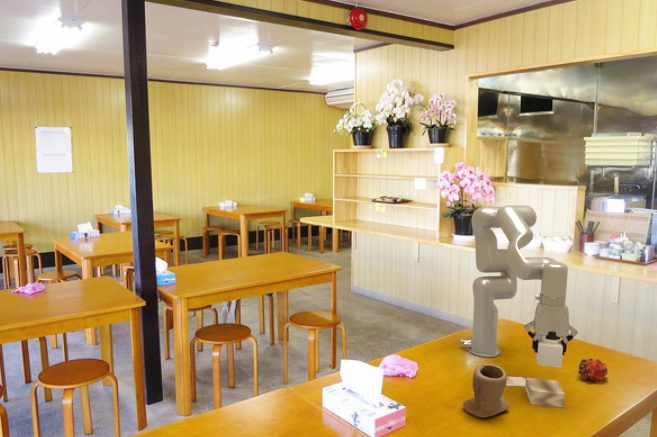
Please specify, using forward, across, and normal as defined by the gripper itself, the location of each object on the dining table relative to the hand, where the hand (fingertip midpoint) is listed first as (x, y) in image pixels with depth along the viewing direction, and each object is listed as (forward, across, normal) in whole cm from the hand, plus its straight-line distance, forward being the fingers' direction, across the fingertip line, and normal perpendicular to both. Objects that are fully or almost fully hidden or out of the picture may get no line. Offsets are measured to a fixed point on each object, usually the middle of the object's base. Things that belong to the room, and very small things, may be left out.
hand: (548, 352), depth 164 cm
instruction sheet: (+16, -9, +11) cm, 22 cm away
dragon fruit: (+17, +20, +21) cm, 33 cm away
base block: (+17, 0, 0) cm, 17 cm away
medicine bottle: (+4, 0, 0) cm, 4 cm away
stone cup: (+17, -19, -13) cm, 28 cm away
